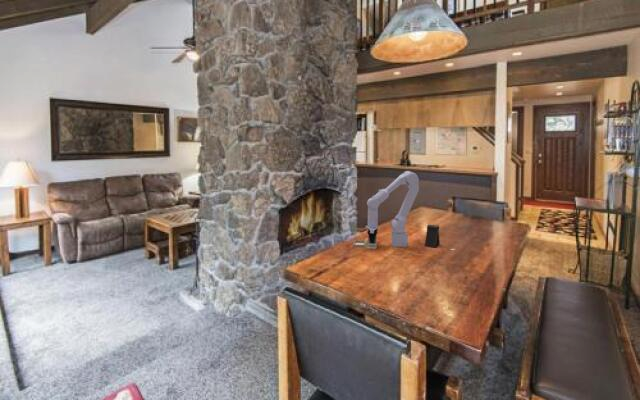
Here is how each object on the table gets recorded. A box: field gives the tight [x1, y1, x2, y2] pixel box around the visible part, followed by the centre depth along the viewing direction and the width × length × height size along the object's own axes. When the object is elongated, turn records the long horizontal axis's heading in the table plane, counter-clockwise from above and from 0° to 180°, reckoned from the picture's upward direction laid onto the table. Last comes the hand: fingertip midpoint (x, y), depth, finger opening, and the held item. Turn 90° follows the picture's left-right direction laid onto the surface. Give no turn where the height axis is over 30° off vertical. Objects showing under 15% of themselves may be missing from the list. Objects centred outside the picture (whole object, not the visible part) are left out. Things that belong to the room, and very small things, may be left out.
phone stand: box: [424, 224, 441, 249], centre depth 211 cm, size 9×6×12 cm, turn 144°
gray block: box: [367, 234, 378, 244], centre depth 209 cm, size 4×4×4 cm
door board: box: [352, 237, 378, 250], centre depth 210 cm, size 13×10×4 cm
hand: (372, 242), depth 209 cm, fingers closed on gray block, 4 cm apart
